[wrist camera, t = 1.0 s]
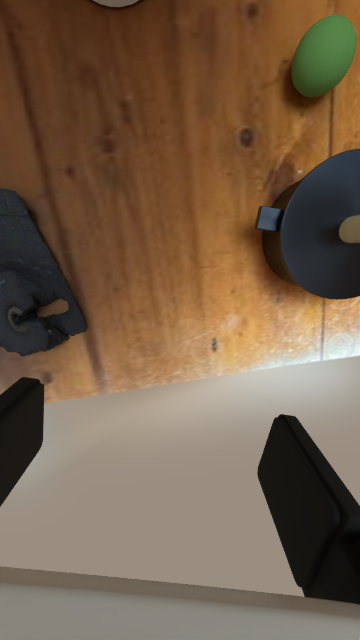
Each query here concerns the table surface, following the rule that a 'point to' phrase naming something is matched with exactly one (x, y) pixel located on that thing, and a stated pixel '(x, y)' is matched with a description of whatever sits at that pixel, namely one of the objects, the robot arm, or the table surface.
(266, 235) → the pan
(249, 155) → the table surface
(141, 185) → the table surface
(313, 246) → the lid
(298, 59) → the ball
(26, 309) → the dark slate chunk
